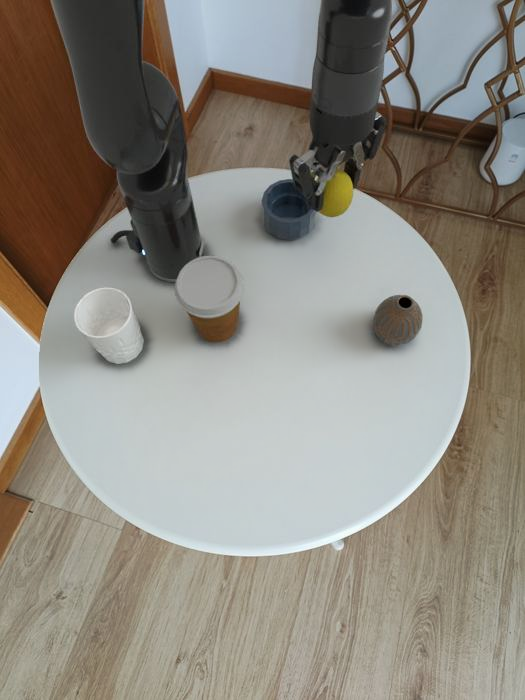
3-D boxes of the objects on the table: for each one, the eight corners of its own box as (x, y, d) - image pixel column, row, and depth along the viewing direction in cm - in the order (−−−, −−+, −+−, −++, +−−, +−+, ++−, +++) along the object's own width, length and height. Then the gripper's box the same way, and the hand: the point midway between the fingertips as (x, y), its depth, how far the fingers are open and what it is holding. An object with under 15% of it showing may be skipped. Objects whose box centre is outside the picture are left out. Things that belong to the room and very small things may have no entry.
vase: (423, 325, 82) (438, 295, 74) (403, 360, 79) (417, 332, 71) (382, 304, 83) (393, 273, 76) (362, 338, 81) (371, 309, 73)
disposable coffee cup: (174, 319, 83) (159, 276, 73) (224, 287, 86) (216, 241, 75) (209, 363, 80) (199, 325, 69) (260, 328, 82) (257, 286, 71)
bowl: (252, 226, 91) (251, 206, 86) (282, 192, 94) (282, 171, 89) (296, 250, 88) (297, 231, 84) (325, 214, 92) (328, 194, 87)
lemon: (346, 231, 76) (353, 191, 68) (308, 225, 76) (311, 185, 69) (352, 201, 78) (359, 159, 71) (314, 195, 79) (318, 154, 71)
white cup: (158, 342, 82) (143, 310, 73) (119, 377, 79) (98, 348, 70) (124, 312, 84) (106, 277, 75) (85, 345, 82) (61, 313, 73)
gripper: (371, 45, 62) (353, 156, 77) (272, 100, 58) (274, 205, 74) (417, 80, 59) (389, 188, 74) (316, 139, 56) (308, 239, 71)
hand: (332, 196), depth 74 cm, fingers closed on lemon, 5 cm apart
